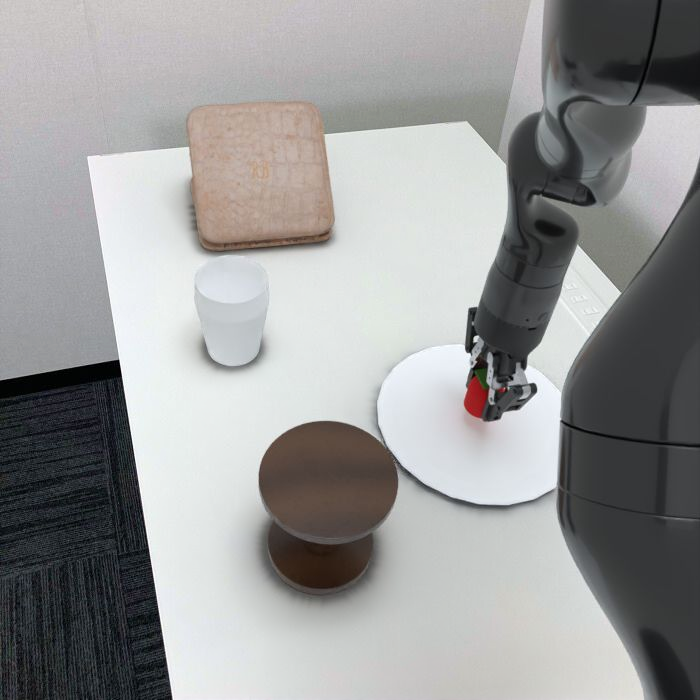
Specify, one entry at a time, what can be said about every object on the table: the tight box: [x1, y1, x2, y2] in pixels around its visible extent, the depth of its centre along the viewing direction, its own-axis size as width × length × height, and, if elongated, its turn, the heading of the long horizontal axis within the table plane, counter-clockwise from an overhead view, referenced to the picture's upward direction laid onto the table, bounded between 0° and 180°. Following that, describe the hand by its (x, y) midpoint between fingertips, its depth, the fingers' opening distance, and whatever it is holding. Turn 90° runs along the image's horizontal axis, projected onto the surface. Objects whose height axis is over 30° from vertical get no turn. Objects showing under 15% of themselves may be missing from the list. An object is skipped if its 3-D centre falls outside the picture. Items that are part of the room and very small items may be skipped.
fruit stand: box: [258, 420, 399, 596], centre depth 73 cm, size 13×13×13 cm
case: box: [185, 100, 336, 252], centre depth 111 cm, size 20×21×16 cm
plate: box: [376, 343, 562, 507], centre depth 91 cm, size 25×25×1 cm
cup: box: [193, 254, 270, 367], centre depth 92 cm, size 9×9×12 cm
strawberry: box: [464, 368, 504, 419], centre depth 87 cm, size 4×4×5 cm
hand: (481, 402), depth 89 cm, fingers closed on strawberry, 4 cm apart
